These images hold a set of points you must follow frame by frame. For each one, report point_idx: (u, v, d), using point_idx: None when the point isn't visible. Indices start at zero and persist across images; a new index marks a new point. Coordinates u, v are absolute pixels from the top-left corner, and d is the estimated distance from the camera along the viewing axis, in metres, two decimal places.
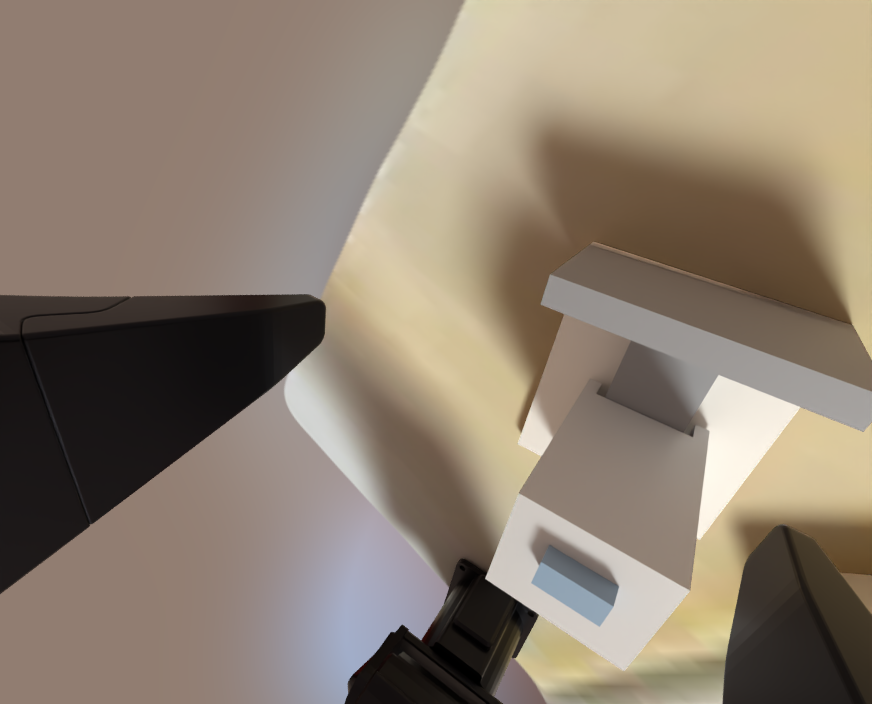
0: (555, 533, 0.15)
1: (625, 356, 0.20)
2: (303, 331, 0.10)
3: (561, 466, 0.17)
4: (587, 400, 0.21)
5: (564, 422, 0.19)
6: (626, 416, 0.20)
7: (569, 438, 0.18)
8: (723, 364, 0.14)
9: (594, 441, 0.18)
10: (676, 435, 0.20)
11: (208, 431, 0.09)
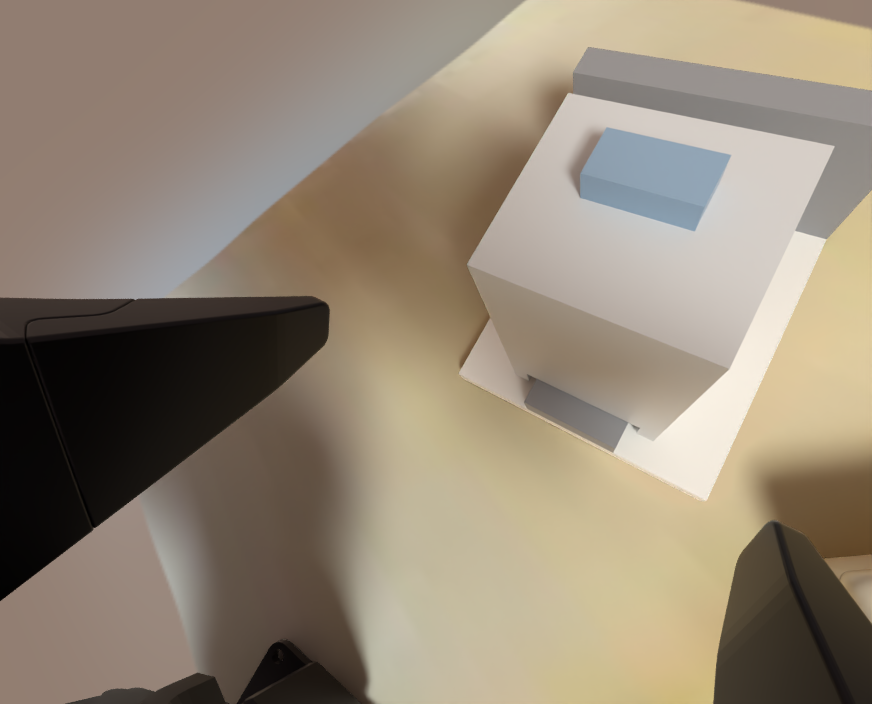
0: None
1: None
2: (307, 333, 0.10)
3: None
4: None
5: None
6: None
7: None
8: (766, 96, 0.14)
9: None
10: None
11: (212, 434, 0.09)
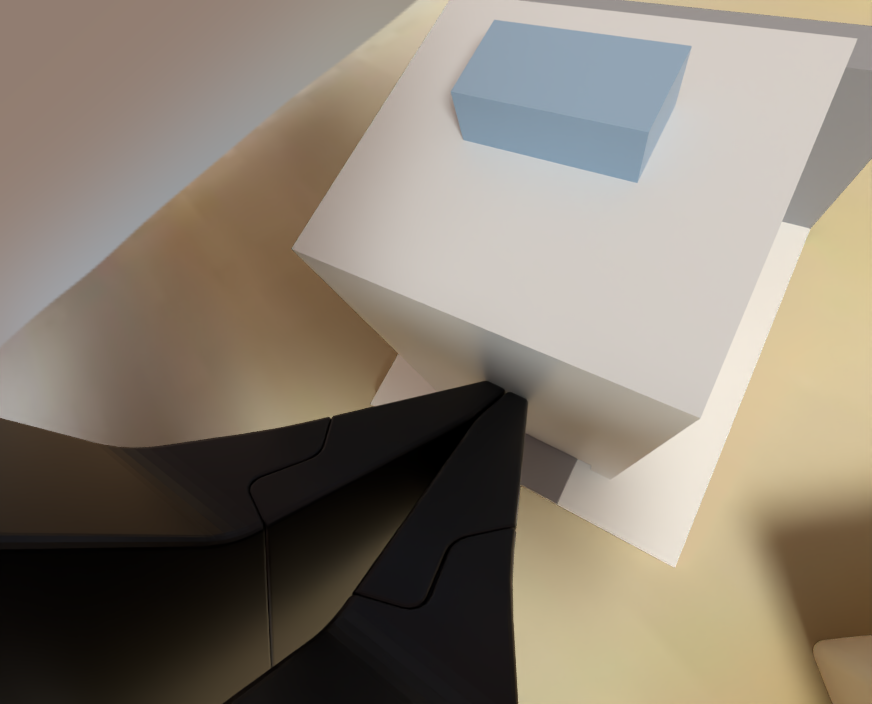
0: None
1: None
2: None
3: None
4: None
5: None
6: None
7: None
8: None
9: None
10: None
11: None
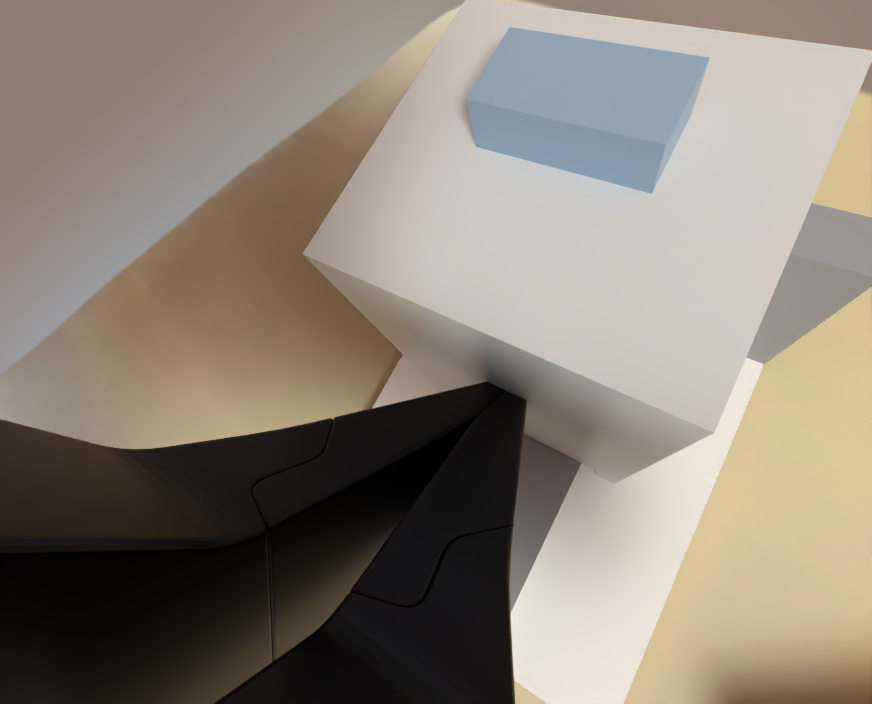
0: None
1: None
2: None
3: None
4: None
5: None
6: None
7: None
8: None
9: None
10: None
11: None
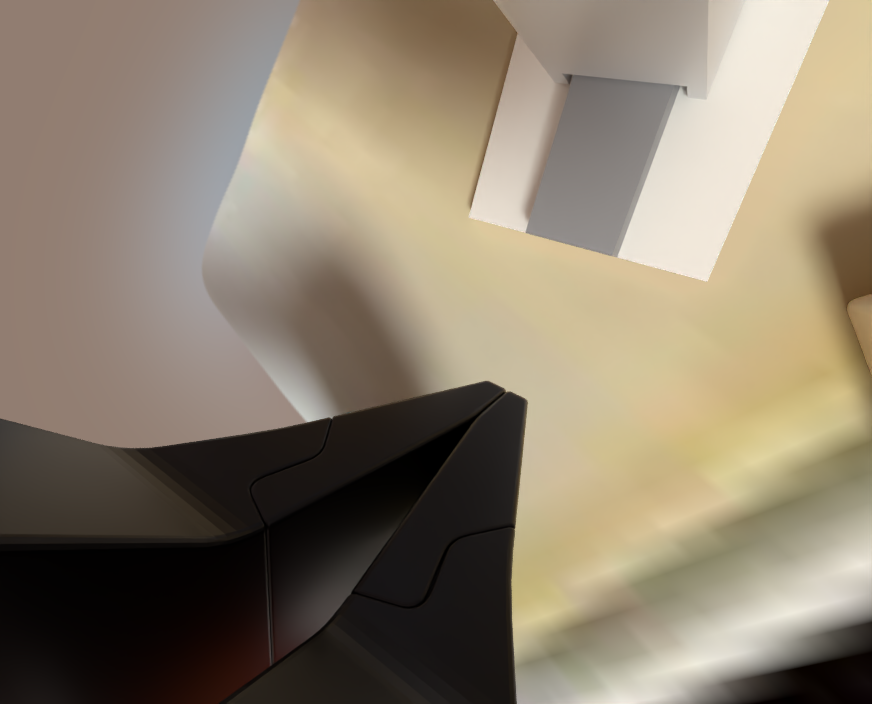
0: None
1: None
2: None
3: None
4: None
5: None
6: None
7: None
8: None
9: None
10: None
11: None
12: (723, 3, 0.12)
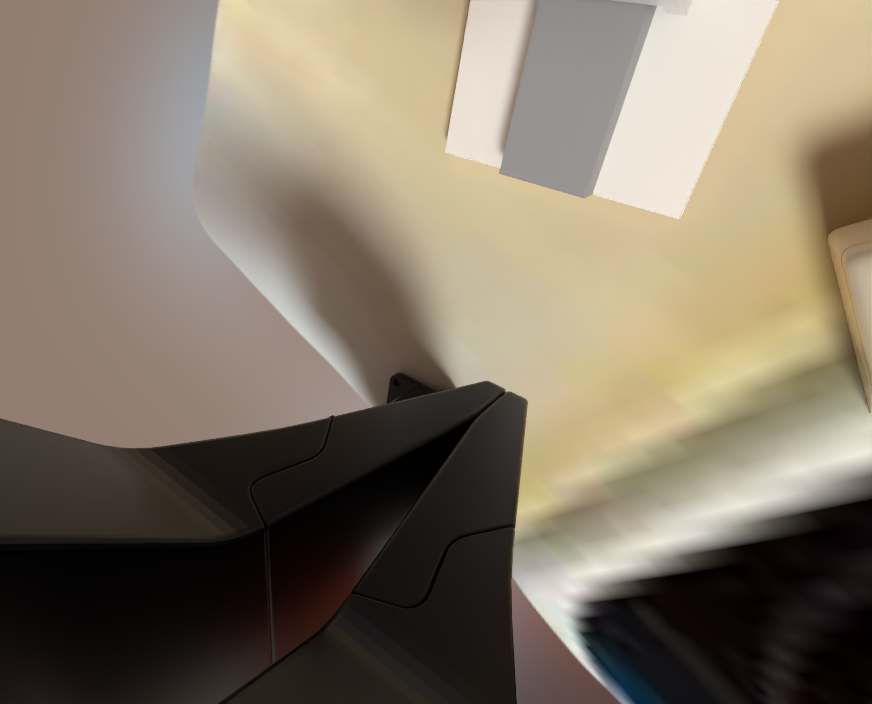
0: None
1: None
2: None
3: None
4: None
5: None
6: None
7: None
8: None
9: None
10: None
11: None
12: None
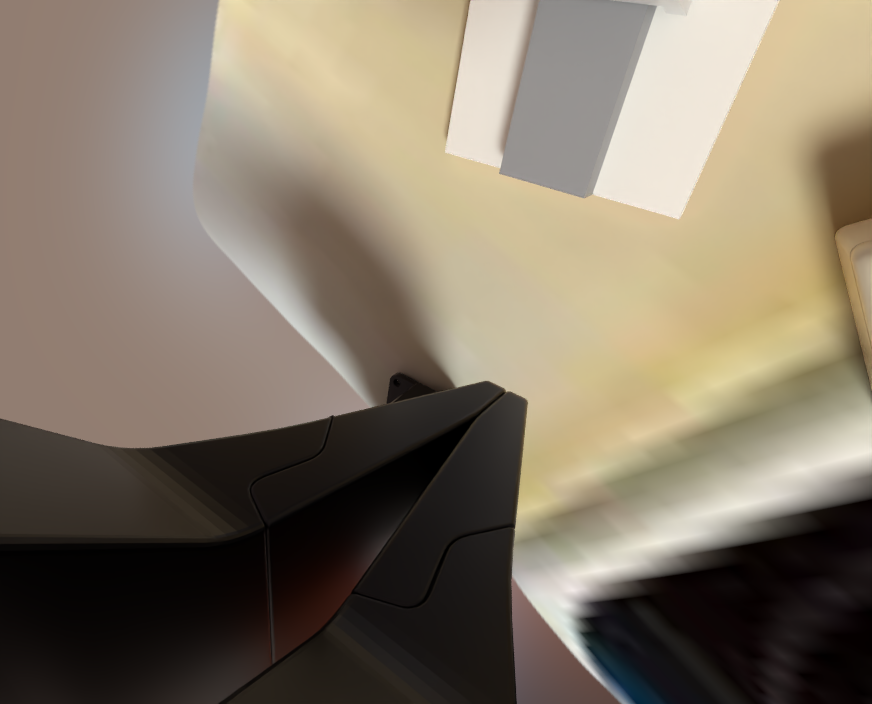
0: None
1: None
2: None
3: None
4: None
5: None
6: None
7: None
8: None
9: None
10: None
11: None
12: None
